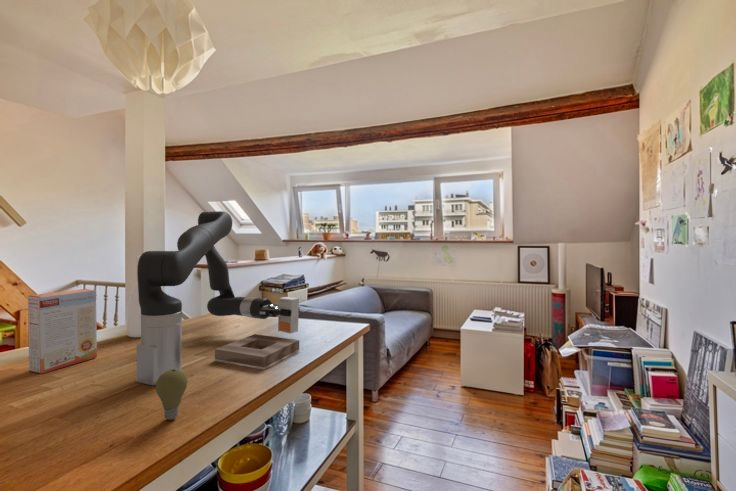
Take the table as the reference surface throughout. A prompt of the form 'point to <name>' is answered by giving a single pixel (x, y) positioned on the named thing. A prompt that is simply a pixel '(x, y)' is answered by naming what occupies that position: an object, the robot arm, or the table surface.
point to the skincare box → (289, 322)
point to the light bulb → (171, 391)
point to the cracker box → (61, 329)
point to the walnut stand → (257, 351)
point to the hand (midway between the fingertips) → (294, 311)
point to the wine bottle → (134, 312)
